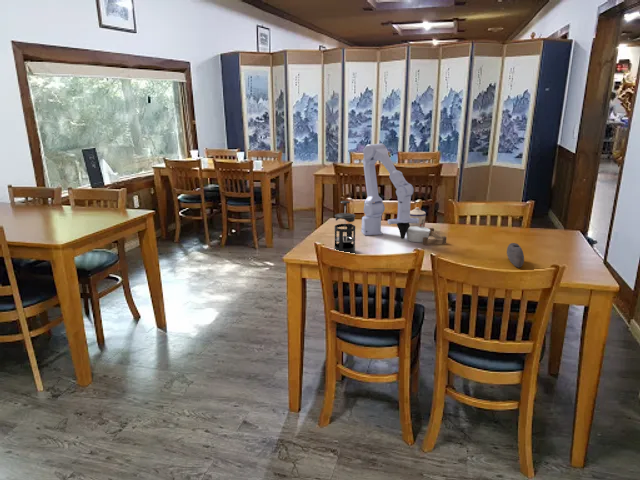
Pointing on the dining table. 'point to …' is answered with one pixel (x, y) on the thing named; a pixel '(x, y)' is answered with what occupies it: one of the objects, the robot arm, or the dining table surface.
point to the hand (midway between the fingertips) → (402, 238)
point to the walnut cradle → (438, 239)
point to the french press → (345, 241)
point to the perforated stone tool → (515, 254)
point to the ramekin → (417, 233)
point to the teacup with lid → (420, 215)
